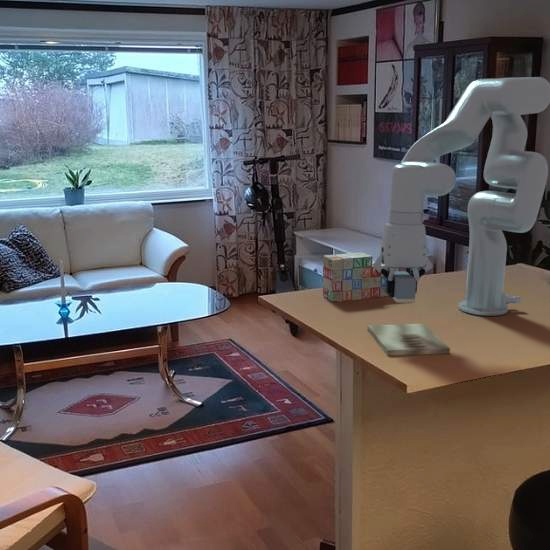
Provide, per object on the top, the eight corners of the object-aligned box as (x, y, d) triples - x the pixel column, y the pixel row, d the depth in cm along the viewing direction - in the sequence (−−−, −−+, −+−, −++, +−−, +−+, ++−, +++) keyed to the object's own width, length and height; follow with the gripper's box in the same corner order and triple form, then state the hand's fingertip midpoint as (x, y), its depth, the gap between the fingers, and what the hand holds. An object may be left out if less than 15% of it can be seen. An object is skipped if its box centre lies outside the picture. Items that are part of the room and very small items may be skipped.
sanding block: (404, 293, 170) (405, 271, 168) (414, 302, 162) (416, 279, 161) (387, 293, 169) (388, 271, 168) (396, 302, 161) (398, 279, 160)
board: (423, 328, 173) (423, 323, 172) (449, 353, 155) (450, 348, 155) (367, 330, 171) (367, 325, 171) (387, 355, 154) (387, 350, 153)
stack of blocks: (388, 290, 208) (390, 249, 205) (399, 295, 203) (401, 253, 200) (322, 297, 201) (323, 254, 198) (331, 302, 195) (332, 259, 192)
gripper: (435, 216, 166) (430, 291, 170) (365, 216, 164) (362, 292, 168) (447, 221, 159) (441, 300, 163) (374, 221, 157) (369, 300, 161)
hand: (401, 295), depth 165 cm, fingers closed on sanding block, 4 cm apart
